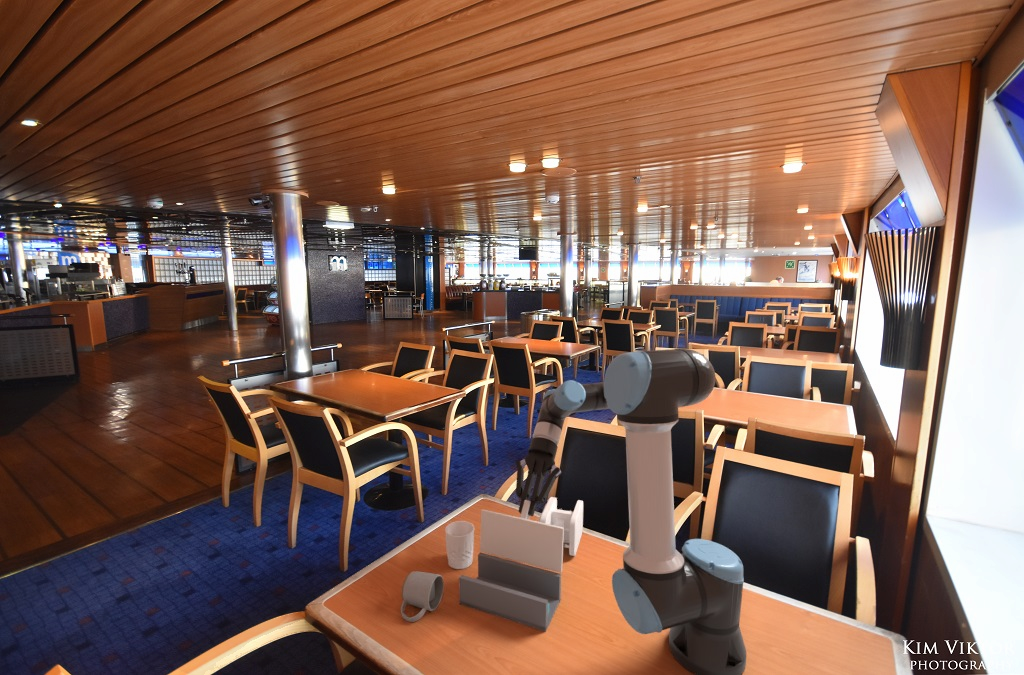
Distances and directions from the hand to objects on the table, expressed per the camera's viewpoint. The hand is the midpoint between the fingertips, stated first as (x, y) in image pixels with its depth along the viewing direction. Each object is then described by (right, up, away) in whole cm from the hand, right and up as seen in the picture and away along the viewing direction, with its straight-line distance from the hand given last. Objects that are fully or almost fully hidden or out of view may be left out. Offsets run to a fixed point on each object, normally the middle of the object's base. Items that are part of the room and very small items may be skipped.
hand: (522, 527), depth 120 cm
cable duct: (-3, -16, -5) cm, 17 cm away
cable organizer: (+12, -13, +19) cm, 25 cm away
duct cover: (-1, -3, -2) cm, 3 cm away
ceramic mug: (-24, -17, -7) cm, 30 cm away
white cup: (-17, -14, +10) cm, 24 cm away
